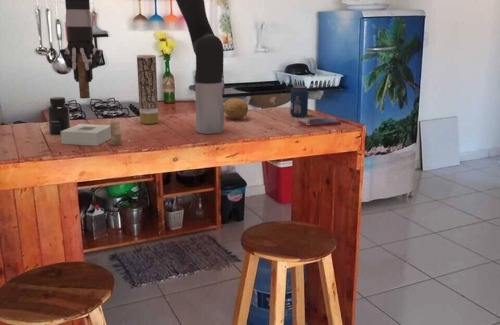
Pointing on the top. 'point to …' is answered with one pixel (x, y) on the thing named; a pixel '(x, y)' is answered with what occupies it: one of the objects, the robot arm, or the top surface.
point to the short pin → (115, 133)
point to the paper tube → (147, 88)
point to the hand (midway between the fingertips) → (83, 81)
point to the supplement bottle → (58, 115)
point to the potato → (235, 108)
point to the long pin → (82, 78)
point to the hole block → (86, 134)
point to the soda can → (299, 101)
